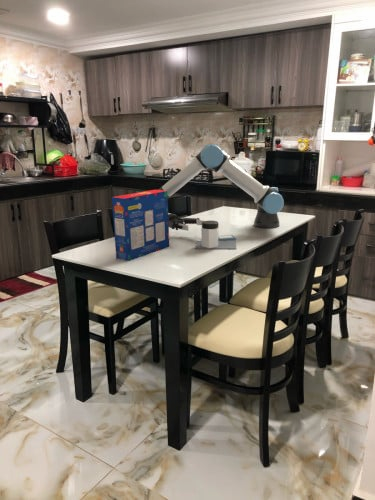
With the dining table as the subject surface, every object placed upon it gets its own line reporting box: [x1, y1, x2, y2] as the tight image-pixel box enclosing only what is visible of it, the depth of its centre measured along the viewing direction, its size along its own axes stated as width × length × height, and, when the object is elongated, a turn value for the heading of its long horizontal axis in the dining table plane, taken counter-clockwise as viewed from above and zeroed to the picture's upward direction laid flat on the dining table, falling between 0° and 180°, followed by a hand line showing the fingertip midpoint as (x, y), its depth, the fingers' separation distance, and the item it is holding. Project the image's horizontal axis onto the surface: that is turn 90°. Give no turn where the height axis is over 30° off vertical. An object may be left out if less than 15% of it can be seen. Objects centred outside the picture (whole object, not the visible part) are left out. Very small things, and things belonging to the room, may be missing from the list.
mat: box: [194, 240, 237, 250], centre depth 194 cm, size 20×14×1 cm
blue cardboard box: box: [111, 189, 170, 262], centre depth 181 cm, size 28×8×28 cm, turn 142°
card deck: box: [219, 234, 237, 241], centre depth 205 cm, size 9×6×2 cm
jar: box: [201, 220, 220, 248], centre depth 190 cm, size 9×8×12 cm
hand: (197, 225), depth 200 cm, fingers open, 13 cm apart
